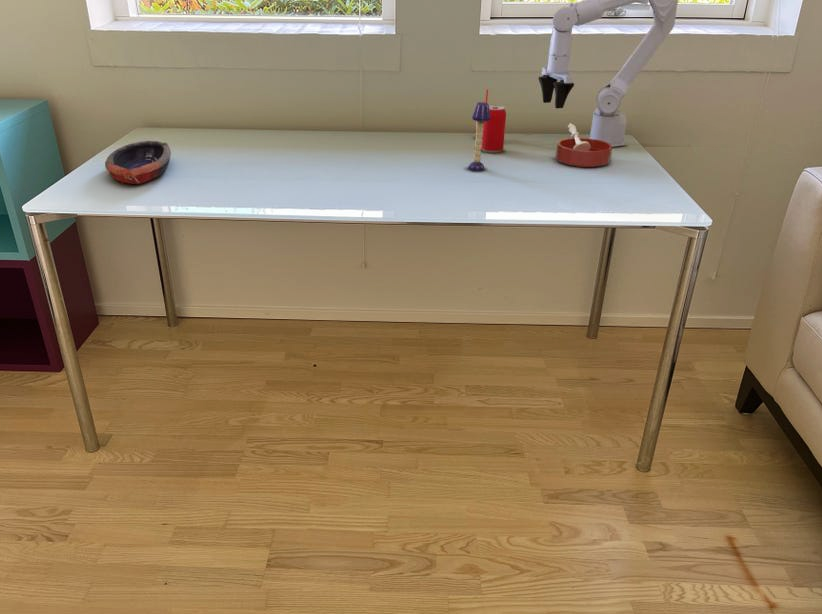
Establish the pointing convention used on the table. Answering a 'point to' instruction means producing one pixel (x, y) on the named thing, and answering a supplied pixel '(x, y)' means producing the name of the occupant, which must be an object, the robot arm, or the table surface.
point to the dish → (138, 161)
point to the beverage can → (494, 130)
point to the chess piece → (578, 140)
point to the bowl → (584, 153)
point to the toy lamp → (479, 133)
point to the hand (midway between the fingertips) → (552, 105)
